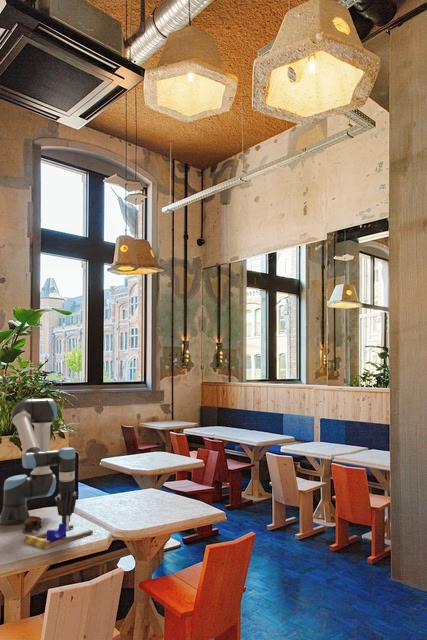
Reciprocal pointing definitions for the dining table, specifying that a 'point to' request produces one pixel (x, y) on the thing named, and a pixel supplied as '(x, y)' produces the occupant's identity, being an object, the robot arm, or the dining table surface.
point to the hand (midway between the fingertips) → (65, 529)
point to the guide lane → (47, 544)
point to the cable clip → (57, 533)
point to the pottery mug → (32, 524)
